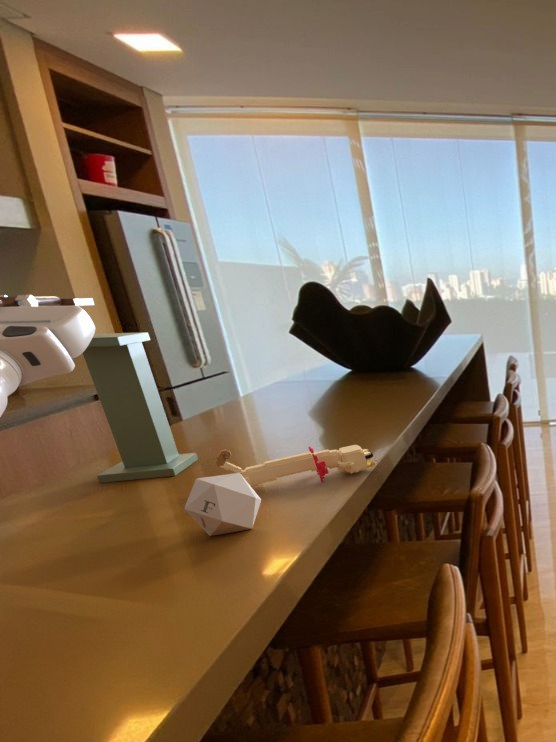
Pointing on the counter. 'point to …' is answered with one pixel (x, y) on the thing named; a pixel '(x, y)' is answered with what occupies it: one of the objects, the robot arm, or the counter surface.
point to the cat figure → (301, 464)
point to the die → (223, 504)
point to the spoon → (49, 301)
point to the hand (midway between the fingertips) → (16, 299)
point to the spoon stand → (133, 409)
